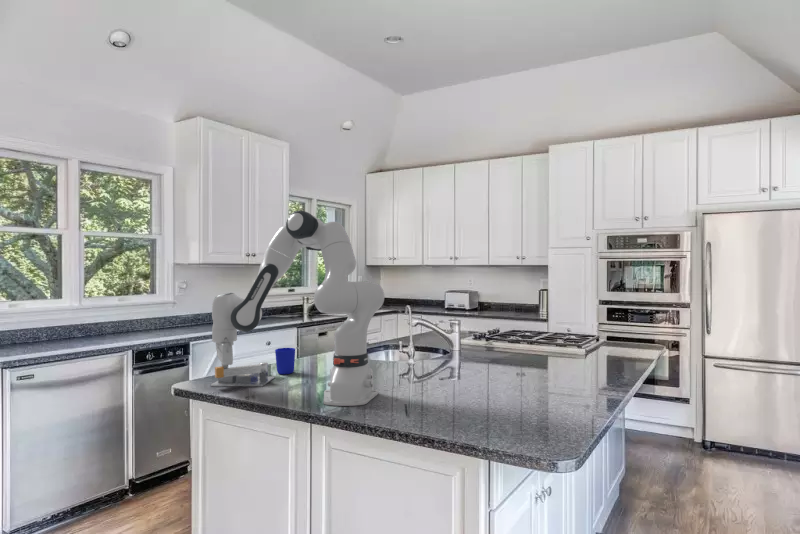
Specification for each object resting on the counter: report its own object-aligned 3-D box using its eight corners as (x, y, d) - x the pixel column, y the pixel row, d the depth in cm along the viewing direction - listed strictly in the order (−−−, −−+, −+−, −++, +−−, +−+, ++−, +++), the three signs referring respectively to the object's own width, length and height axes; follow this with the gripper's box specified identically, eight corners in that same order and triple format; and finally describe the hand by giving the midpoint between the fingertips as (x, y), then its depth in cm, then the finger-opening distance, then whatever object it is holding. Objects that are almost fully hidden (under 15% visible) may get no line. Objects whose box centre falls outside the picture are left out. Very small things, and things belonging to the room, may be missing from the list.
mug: (300, 369, 222) (300, 346, 222) (292, 375, 210) (291, 350, 210) (282, 369, 223) (281, 346, 223) (272, 375, 211) (272, 350, 211)
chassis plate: (262, 386, 192) (262, 376, 191) (210, 386, 193) (210, 376, 193) (274, 377, 205) (274, 368, 205) (225, 377, 207) (225, 368, 207)
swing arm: (268, 371, 198) (268, 362, 198) (216, 378, 188) (216, 368, 188) (266, 370, 201) (266, 361, 201) (214, 376, 191) (214, 366, 191)
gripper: (236, 339, 185) (237, 377, 185) (230, 332, 204) (230, 367, 204) (218, 340, 182) (218, 379, 183) (213, 333, 201) (213, 368, 201)
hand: (224, 373), depth 193 cm, fingers closed
